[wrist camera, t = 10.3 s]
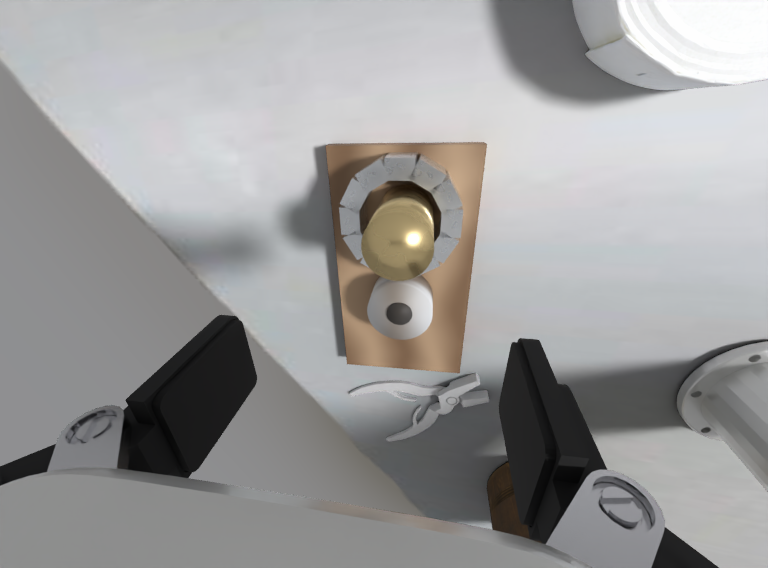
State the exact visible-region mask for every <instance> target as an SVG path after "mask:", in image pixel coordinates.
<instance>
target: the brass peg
mask: <svg viewBox="0 0 768 568" xmlns="http://www.w3.org/2000/svg"><path fill="white" fill-rule="evenodd" d="M361 250H362V255H363V258H364V260H365V262H366V264H367V265H368V266H369V268H370V269H371V270H372V271H373V272H374V273H376V274H377V275H379V276H380V277H383V278H385V279H388V280H392V281H405V280H409V279H412V278H415V277H417V276H418V275H420V274H421V273H423V272H424V271H425V270H426V269H427V267H428V266H429V264H430V263H431V261H432V258H433V255H434V221H433V205H432V202H431V199H430V198H429V196H428V195H427V193H426V192H425V191H423V190H422V189H421V188H419V187H417V186H414V185H408V184H404V185H398V186H396V187H394V188H392V189H390V190H389V191H388V192H387V193H386V194H385V195H384V197H383V198H382V200H381V202H380V204H379V206H378V207H377V209H376V211H375V213H374V215H373V217H372V218H371V220H370V222H369V224H368V226H367V228H366V229H365V231H364V234H363V236H362V241H361Z"/></svg>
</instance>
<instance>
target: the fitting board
mask: <svg viewBox="0 0 768 568" xmlns="http://www.w3.org/2000/svg"><path fill="white" fill-rule="evenodd" d="M486 148H487V144H486V143H484V142H468V143H361V144H329V145H326V154H327V165H328V175H329V185H330V195H331V205H332V215H333V225H334V236H335V246H336V256H337V266H338V276H339V286H340V297H341V307H342V317H343V327H344V337H345V347H346V357H347V364H354V365H366V366H378V367H391V368H403V369H415V370H427V371H439V372H452V373H460V364H461V356H462V348H463V339H464V331H465V323H466V314H467V306H468V298H469V289H470V281H471V273H472V264H473V256H474V248H475V239H476V231H477V223H478V214H479V206H480V198H481V189H482V181H483V173H484V164H485V156H486ZM390 152H418V157H417V160H418V159H419V157H420V155H421V153H422V154H423V155H425V156H427V157H428V158H430V159H432V160H433V161H435V162H436V163H438V164H440V165H441V166H443V167H444V168H445V170H446V172H447V171H448V172H449V174H450V176H451V178H452V180H453V182H454V184H455V186H456V188H457V190H458V193H459V195H460V198H461V201H462V205H463V219H462V230H461V238H459V243H458V244H457V245H456V247H455V248H454V250H453V251H452V252H451V254H450V255H449V256H448V258H447V259H446V260H445V262H444V263H441V262H440V266H439V267H437V268H435V269H432V270H430V271H428V272H426V273H424V274H422V275H419V276H417V277H415V278H412V279H409V280H405V281H392V280H388V279H385V278H383V277H380V276H379V275H377V274H376V273H374V272H373V271H372V270H371V269H370V268H369V267H367V266H365V265H363V264H361V263H360V262H361V260H362V258H361V259H359V260H357V259H356V257H355V256H354V254H353V253H352V251H351V250H350V248H349V247H348V245H347V244H346V242H345V241H344V239H343V237H344V236H345V235H341V225H340V213H339V207H340V206H341V204H340V202H341V200H342V198H343V196H344V194H345V192H346V190H347V187H348V185H349V183H350V181H351V179H352V178H353V177H354V176H355V174H357V173H358V172H359V171H360V170H361V169H362V168H364V167H365V166H367V165H369V164H370V163H372V162H373V161H375V160H376V159H378V158H380V157H381V156H383V155H384V154H386V155H388V154H389V153H390ZM404 184H408V185H414V186H417V187H419V188H421V189H422V190H423V191H425V192H426V193H427V195H428V196H429V198H430V199H431V202H432V205H433V221H434V230H435V228H436V227H437V225H438V224H439V222H440V209H439V207H438V205H437V203H436V201H435V199H434V197H433V195H432V194H431V192H429V191H427V190H426V189H424V188H422V187H421V186H419V185H417V184H416V183H414V182H412V181H387V182H385V183H384V184H382V185H380V186H379V187H377V188H375V189H374V190H372V192H371V194H370V195H369V197H368V199H367V220H368V222H370V220H371V218H372V217H373V215H374V213H375V211H376V209H377V207H378V206H379V204H380V202H381V200H382V198H383V197H384V195H385V194H386V193H387V192H388V191H389V190H390V189H392V188H394V187H396V186H398V185H404Z"/></svg>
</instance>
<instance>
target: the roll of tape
mask: <svg viewBox="0 0 768 568" xmlns="http://www.w3.org/2000/svg"><path fill="white" fill-rule="evenodd" d="M572 4H573V9H574V13H575V18H576V21H577V24H578V26H579V29H580V31H581V34H582V36H583V38H584V40H585V42H586V44H587V46H588V48H589V49H590V50H589V51H588V52H586V53H585V56H586V57H587V58H589V59H590V60H591V61H592V62H593V63H594V64H596V65H597V66H598V67H599V68H601V69H602V70H603V71H605V72H607V73H609V74H610V75H612V76H614V77H616V78H618V79H620V80H622V81H624V82H627V83H629V84H633V85H636V86H639V87H644V88H648V89H655V90H680V89H693V88H704V87H716V86H729V85H739V84H746V83H752V82H758V81H763V80H768V0H572Z"/></svg>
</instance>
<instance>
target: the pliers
mask: <svg viewBox="0 0 768 568" xmlns="http://www.w3.org/2000/svg"><path fill="white" fill-rule="evenodd" d="M478 385H480V378H479V375H478V374H476V373H473V374H471V375H468V376H465V377H462V378H460V379H457V380H454V381H451V382H450V384H449V386H448V387H443V386H441V385H439V386H425V385H419V384H416V383H412V382H407V381H380V382H374V383H370V384H366V385H363V386H360V387H358V388H356V389H354V390H352V391H350V395H351V397H352V396H356V395H360V394H365V393H371V392H381V391H386V392H388V393H390V394H392V395H394V396H395V397H397V398H400V399H402V400H407V401H413V402H416V398H413V397H408V396H403V395H401V394H399V393H397V392H396V391H401V392H405V393H410V394H413V395H417V396H429V395H436V396H438V398H439V402H440V403H439V402H436V403H435V404H433V405H431V406H429V408H428V410H427V411H426V413H425V415H424V416H423V418H422V419H421V420H420V421H419V422H417V420H416V415H417V414H418V412H419V411H420V410H421V409H422V406H421V405H420V406H419V407H418V408H417V409H416V411H415V412H414V415H413V426H411V427H409V428H407V429H405V430H404V431H401V432H399V433H396V434H394V435H391V436H388V437H386V440H387V441H388V442H391V441H398V440H403V439H406V438H409V437H412V436H415V435H417V434H419V433H421V432H422V431H424V430H426V429H427V428H429V427H430V426H431V425H432V424H433V423H434V422H435V421H436V419H437V417H438V415H439V414H444V415H445V414H447V413H449V412H451V411H452V409H453V407H454V406H455V405H457V404H458V403H461V404H462V406H463V407H464V408H465V407H469V406H473V405H478V404H482V403H487V402H489V397H488V391H487V390H482V391H470V392H467V391H469V390H471V389H473V388H475V387H477V386H478Z"/></svg>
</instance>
